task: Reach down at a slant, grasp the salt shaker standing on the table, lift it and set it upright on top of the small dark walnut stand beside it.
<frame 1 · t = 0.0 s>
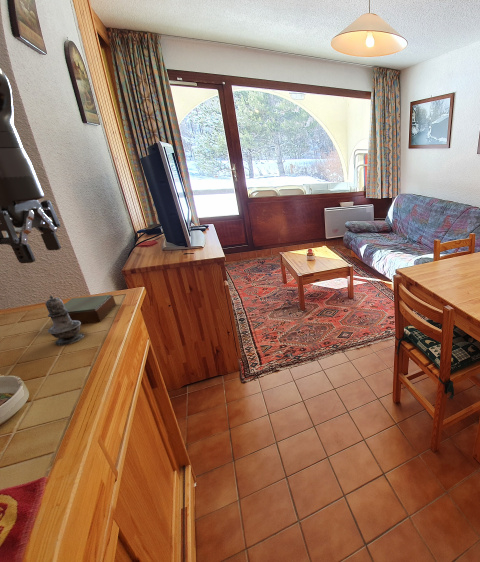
hand: (42, 255, 64), 23 cm above the worktop, tool pointing down, fingers open, 8 cm apart
walnut stand: (87, 315, 87), on the worktop
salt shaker: (70, 339, 76), on the worktop
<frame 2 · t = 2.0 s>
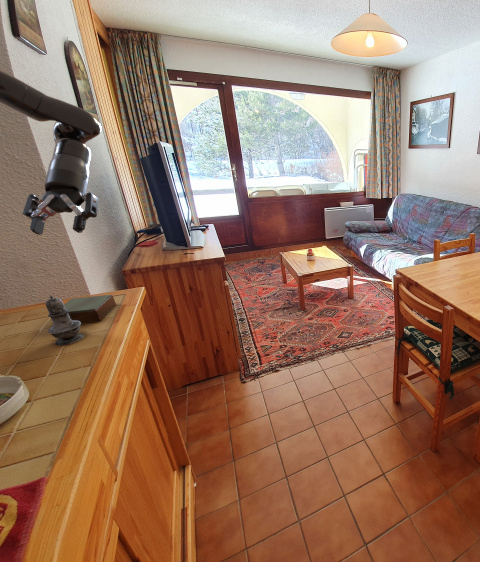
hand: (57, 232, 75), 24 cm above the worktop, tool tilted 40°, fingers open, 8 cm apart
nothing on the worktop moved.
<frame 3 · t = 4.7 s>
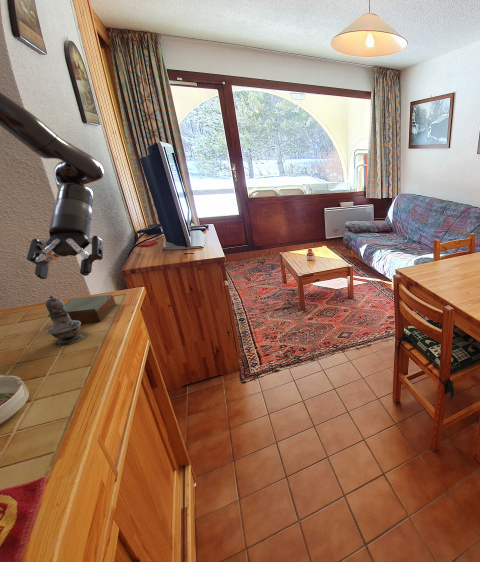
hand: (63, 276, 76), 14 cm above the worktop, tool tilted 45°, fingers open, 8 cm apart
nothing on the worktop moved.
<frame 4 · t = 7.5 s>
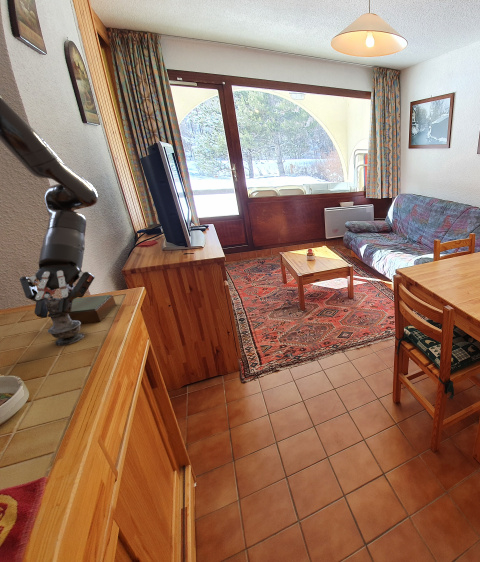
hand: (52, 315, 71), 8 cm above the worktop, tool tilted 45°, fingers closed on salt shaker, 3 cm apart
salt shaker: (70, 339, 76), on the worktop, touching gripper
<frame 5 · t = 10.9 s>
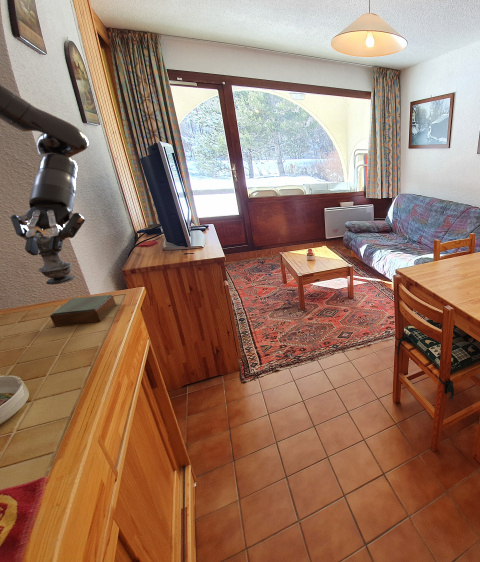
hand: (43, 252, 72), 21 cm above the worktop, tool tilted 45°, fingers closed on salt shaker, 3 cm apart
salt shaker: (61, 280, 77), point 13 cm above the worktop, touching gripper
when the fingers open (12 cm above the worktop, at t = 14.7 s): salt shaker stays where it is, resting on walnut stand.
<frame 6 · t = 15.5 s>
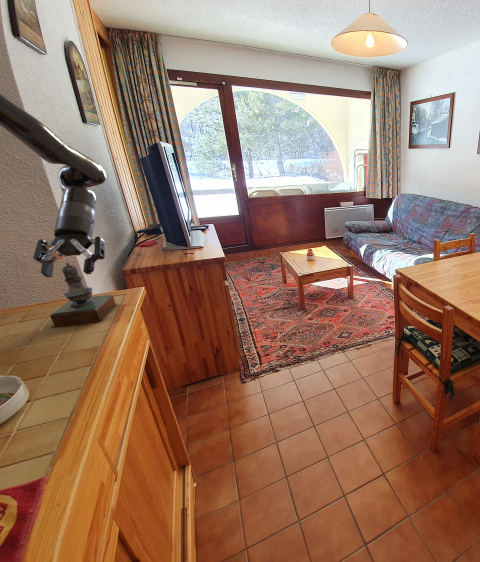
hand: (67, 274, 81), 13 cm above the worktop, tool tilted 45°, fingers open, 8 cm apart
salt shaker: (83, 303, 86), point 4 cm above the worktop, touching walnut stand
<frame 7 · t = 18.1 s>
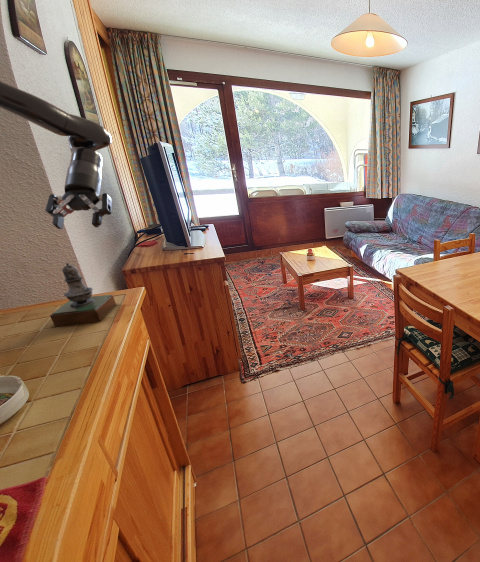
hand: (77, 226, 86), 23 cm above the worktop, tool tilted 45°, fingers open, 8 cm apart
nothing on the worktop moved.
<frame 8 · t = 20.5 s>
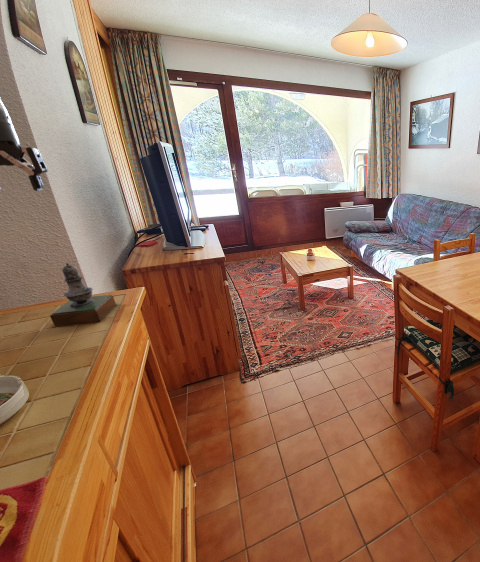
hand: (18, 190, 79), 33 cm above the worktop, tool pointing down, fingers open, 8 cm apart
nothing on the worktop moved.
at the end: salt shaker inside the target area on the walnut stand (0.2 cm from its centre), point 3.5 cm above the walnut stand's base; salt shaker tilted 0°; the gripper is holding nothing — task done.
